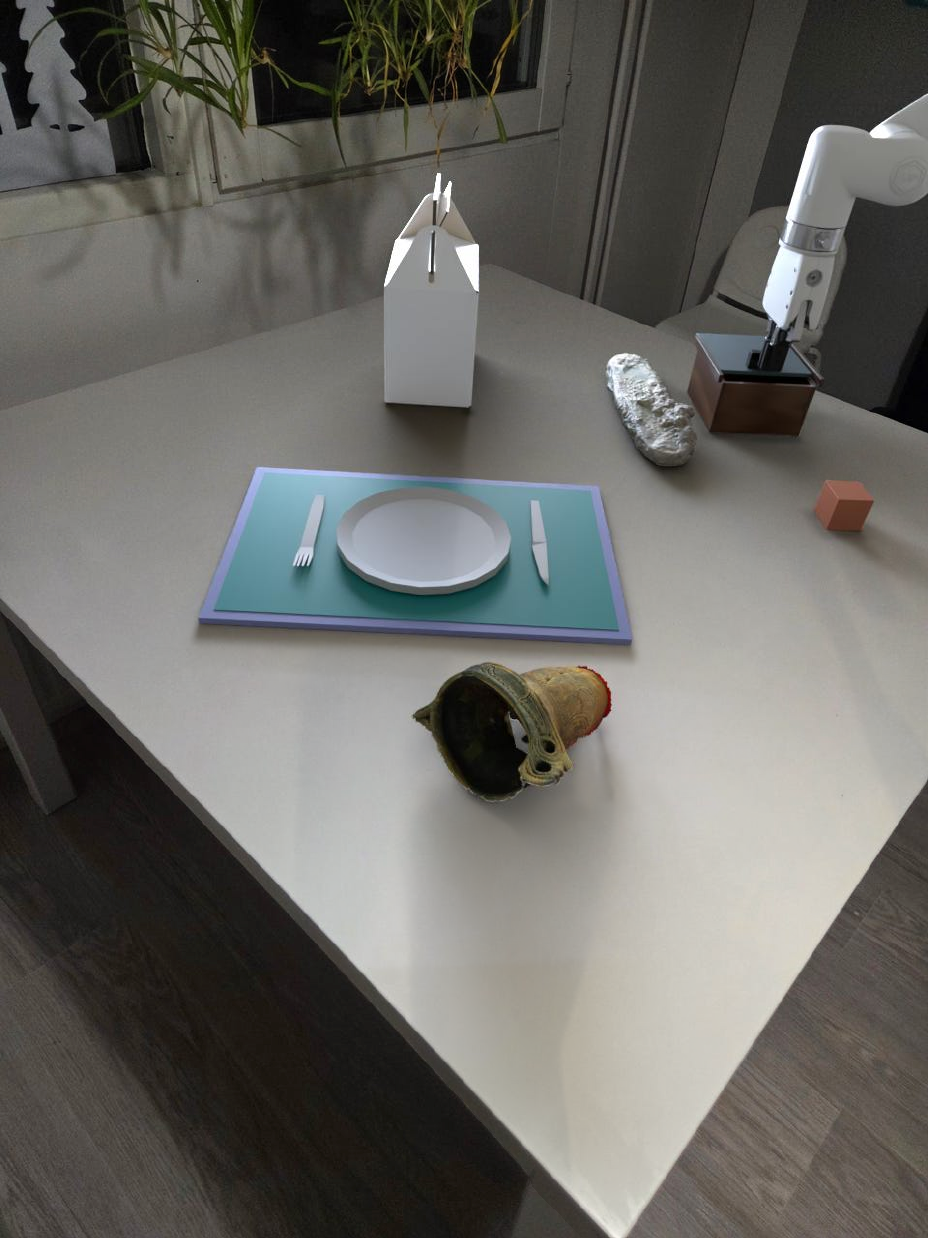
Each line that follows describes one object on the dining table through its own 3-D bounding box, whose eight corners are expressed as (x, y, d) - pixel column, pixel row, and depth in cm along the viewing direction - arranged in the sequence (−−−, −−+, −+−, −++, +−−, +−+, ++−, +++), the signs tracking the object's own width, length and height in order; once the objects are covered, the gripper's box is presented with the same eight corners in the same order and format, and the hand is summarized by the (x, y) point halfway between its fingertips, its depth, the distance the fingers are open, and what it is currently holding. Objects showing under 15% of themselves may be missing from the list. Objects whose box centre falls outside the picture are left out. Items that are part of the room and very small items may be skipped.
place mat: (199, 623, 85) (196, 606, 83) (257, 471, 108) (255, 456, 107) (631, 644, 86) (635, 628, 85) (597, 491, 110) (600, 476, 108)
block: (847, 511, 109) (860, 481, 106) (860, 530, 106) (874, 500, 103) (813, 510, 109) (825, 480, 106) (826, 529, 106) (839, 499, 103)
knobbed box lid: (780, 340, 132) (785, 321, 131) (810, 377, 122) (817, 358, 120) (694, 336, 132) (699, 317, 130) (718, 373, 121) (723, 353, 119)
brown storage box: (774, 395, 136) (792, 340, 130) (804, 436, 125) (824, 379, 119) (682, 391, 135) (695, 336, 129) (703, 432, 124) (719, 374, 118)
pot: (679, 667, 71) (548, 711, 58) (663, 788, 74) (535, 854, 61) (527, 624, 82) (390, 652, 70) (518, 729, 85) (385, 774, 73)
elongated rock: (649, 375, 142) (592, 376, 141) (653, 345, 139) (595, 346, 138) (709, 470, 114) (638, 472, 114) (716, 435, 111) (643, 436, 110)
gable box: (470, 409, 125) (484, 210, 107) (384, 403, 125) (383, 203, 107) (471, 350, 142) (483, 170, 124) (395, 345, 142) (396, 164, 124)
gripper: (861, 255, 103) (812, 392, 114) (818, 220, 114) (777, 349, 126) (803, 251, 102) (759, 390, 114) (765, 217, 113) (729, 347, 125)
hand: (769, 368), depth 120 cm, fingers closed
